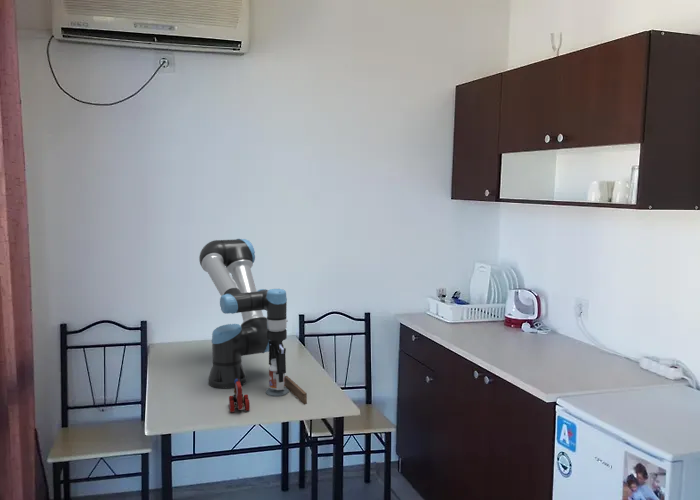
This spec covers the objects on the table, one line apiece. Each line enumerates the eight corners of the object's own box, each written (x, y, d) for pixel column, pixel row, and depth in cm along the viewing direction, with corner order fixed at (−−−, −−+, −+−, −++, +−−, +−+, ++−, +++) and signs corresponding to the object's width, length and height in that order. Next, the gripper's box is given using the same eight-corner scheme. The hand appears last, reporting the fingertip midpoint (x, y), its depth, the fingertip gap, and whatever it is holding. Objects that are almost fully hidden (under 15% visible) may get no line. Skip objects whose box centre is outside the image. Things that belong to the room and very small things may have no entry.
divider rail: (303, 404, 228) (303, 393, 228) (284, 385, 248) (284, 376, 247) (306, 403, 229) (306, 393, 228) (286, 385, 248) (286, 375, 248)
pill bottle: (269, 384, 243) (269, 357, 242) (284, 384, 244) (284, 357, 242) (268, 390, 237) (268, 362, 236) (284, 389, 237) (284, 362, 236)
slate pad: (269, 397, 235) (269, 396, 234) (262, 390, 243) (262, 388, 243) (292, 394, 238) (292, 392, 238) (284, 386, 246) (284, 385, 246)
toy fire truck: (247, 401, 231) (247, 374, 229) (250, 413, 219) (249, 385, 217) (228, 403, 229) (228, 376, 228) (230, 415, 217) (230, 387, 216)
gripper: (294, 334, 230) (294, 393, 233) (278, 322, 248) (278, 378, 250) (275, 336, 227) (275, 396, 230) (260, 324, 244) (260, 380, 247)
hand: (277, 386), depth 240 cm, fingers closed on pill bottle, 6 cm apart
